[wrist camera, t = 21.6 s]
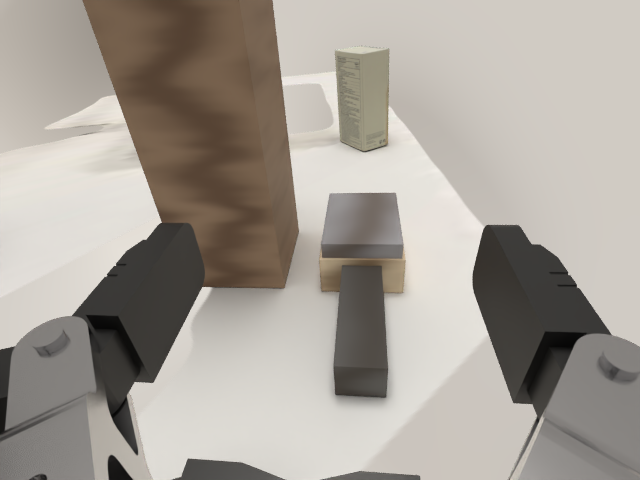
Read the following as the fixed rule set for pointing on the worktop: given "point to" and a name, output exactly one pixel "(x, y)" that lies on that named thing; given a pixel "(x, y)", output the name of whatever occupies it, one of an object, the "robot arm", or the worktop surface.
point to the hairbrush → (361, 284)
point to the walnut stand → (208, 126)
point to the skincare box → (363, 96)
